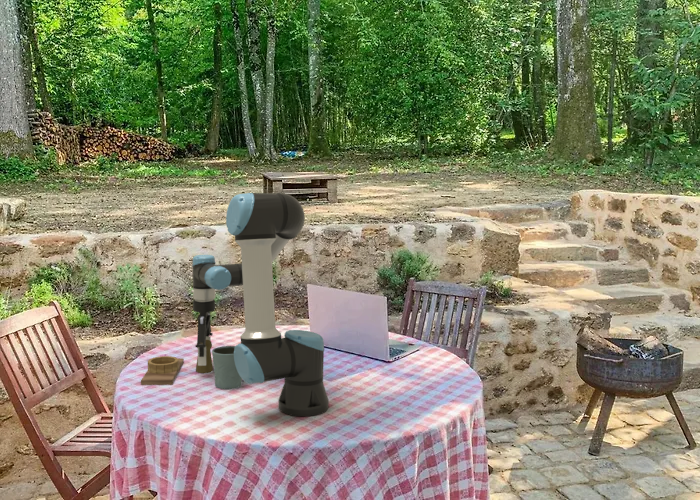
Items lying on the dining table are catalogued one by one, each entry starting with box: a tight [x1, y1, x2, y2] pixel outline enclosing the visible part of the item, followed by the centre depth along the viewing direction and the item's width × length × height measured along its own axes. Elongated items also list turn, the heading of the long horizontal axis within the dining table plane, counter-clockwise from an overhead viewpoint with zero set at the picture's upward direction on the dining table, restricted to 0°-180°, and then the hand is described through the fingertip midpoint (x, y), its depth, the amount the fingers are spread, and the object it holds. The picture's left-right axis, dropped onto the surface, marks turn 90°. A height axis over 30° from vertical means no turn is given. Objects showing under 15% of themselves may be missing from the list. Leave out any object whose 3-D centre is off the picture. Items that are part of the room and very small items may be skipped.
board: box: [140, 355, 185, 386], centre depth 224 cm, size 24×10×4 cm, turn 6°
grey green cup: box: [211, 345, 243, 390], centre depth 213 cm, size 10×10×12 cm
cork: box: [195, 340, 214, 374], centre depth 228 cm, size 6×6×11 cm
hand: (204, 359), depth 228 cm, fingers open, 12 cm apart
